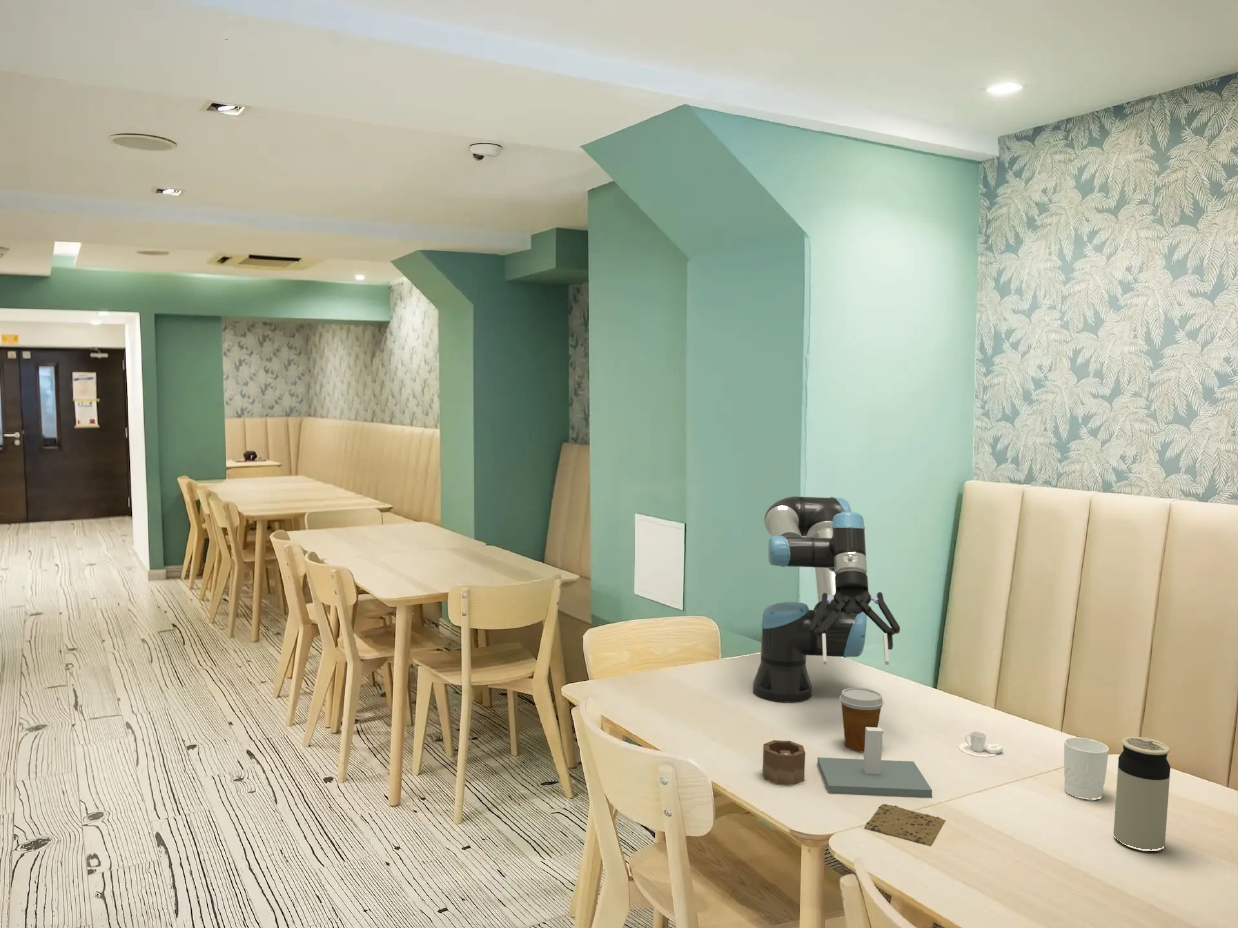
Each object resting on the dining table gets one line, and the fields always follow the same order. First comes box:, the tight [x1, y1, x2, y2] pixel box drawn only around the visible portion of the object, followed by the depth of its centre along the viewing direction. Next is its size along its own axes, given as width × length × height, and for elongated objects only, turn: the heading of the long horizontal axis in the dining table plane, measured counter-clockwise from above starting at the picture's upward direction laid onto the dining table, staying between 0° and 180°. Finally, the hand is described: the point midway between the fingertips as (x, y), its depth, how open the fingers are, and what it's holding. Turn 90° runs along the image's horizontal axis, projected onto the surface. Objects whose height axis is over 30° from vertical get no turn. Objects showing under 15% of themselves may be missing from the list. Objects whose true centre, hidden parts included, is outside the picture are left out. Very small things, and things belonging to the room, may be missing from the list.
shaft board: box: [816, 727, 933, 798], centre depth 189 cm, size 14×20×10 cm
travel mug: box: [1113, 736, 1171, 850], centre depth 164 cm, size 8×8×18 cm
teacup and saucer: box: [958, 731, 1004, 758], centre depth 206 cm, size 9×8×4 cm
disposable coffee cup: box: [839, 687, 885, 753], centre depth 206 cm, size 10×10×12 cm
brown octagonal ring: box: [762, 739, 806, 786], centre depth 190 cm, size 8×8×6 cm
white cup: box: [1063, 736, 1110, 799], centre depth 184 cm, size 8×8×10 cm
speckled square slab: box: [863, 803, 947, 847], centre depth 170 cm, size 12×12×1 cm
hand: (855, 663), depth 210 cm, fingers open, 13 cm apart
